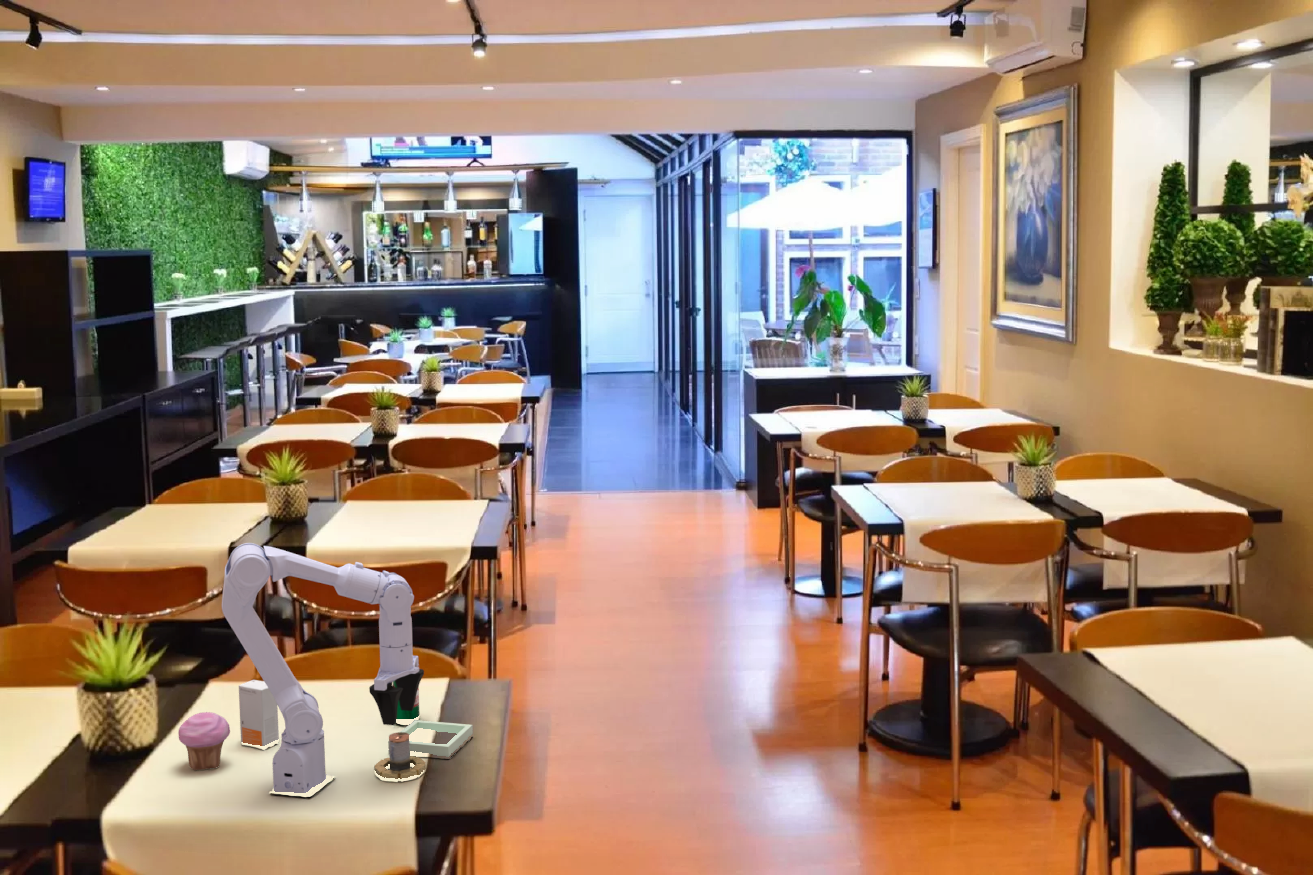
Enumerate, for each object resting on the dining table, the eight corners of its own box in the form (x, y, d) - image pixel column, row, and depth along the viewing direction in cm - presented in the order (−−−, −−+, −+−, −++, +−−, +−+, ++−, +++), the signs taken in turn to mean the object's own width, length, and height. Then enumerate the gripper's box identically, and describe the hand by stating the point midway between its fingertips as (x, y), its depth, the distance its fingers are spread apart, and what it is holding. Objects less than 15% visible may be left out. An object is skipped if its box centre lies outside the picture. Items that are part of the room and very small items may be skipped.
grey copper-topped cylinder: (405, 777, 237) (404, 740, 237) (386, 775, 238) (385, 738, 237) (413, 770, 241) (412, 733, 240) (395, 768, 242) (394, 731, 241)
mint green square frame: (448, 759, 246) (448, 746, 246) (388, 754, 249) (388, 741, 248) (472, 737, 257) (472, 724, 257) (415, 732, 260) (414, 719, 260)
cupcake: (178, 777, 238) (175, 723, 237) (182, 760, 246) (179, 708, 245) (230, 772, 240) (228, 718, 239) (232, 755, 249) (230, 703, 247)
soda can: (406, 728, 263) (404, 669, 261) (388, 723, 266) (386, 664, 264) (425, 721, 267) (423, 663, 265) (407, 716, 270) (405, 658, 268)
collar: (412, 784, 234) (412, 775, 234) (367, 779, 237) (367, 771, 236) (432, 766, 243) (431, 757, 243) (388, 762, 245) (388, 753, 245)
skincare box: (240, 745, 253) (237, 685, 252) (256, 738, 257) (253, 678, 256) (264, 751, 251) (261, 689, 249) (280, 743, 254) (277, 683, 253)
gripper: (399, 656, 229) (402, 732, 230) (433, 633, 243) (435, 705, 244) (361, 653, 230) (364, 729, 232) (397, 631, 244) (399, 702, 246)
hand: (398, 716), depth 238 cm, fingers open, 7 cm apart
